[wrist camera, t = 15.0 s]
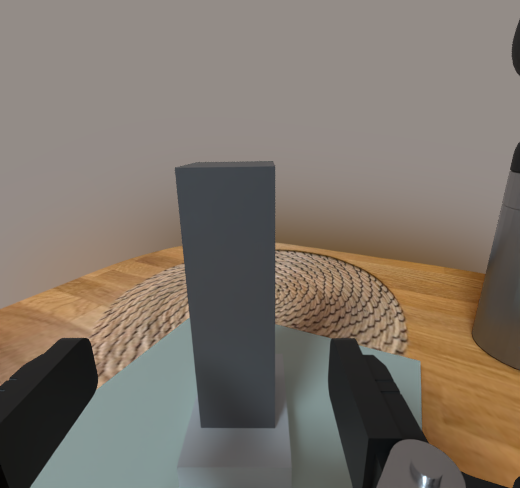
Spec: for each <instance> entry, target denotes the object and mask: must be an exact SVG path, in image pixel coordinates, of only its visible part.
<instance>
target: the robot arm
mask: <svg viewBox="0 0 520 488" xmlns="http://www.w3.org/2000/svg"><path fill="white" fill-rule="evenodd" d="M512 60H513V65H514V68H515V70H516V72H517V73H518V74H519V75H520V20H519V23H518V26H517V28H516V32H515V36H514V39H513V44H512ZM510 170H512V171H510V172H509V176H508V181H507V185H506V189H505V193H504V198H503V202H502V203H503V204H502V207H501V211H500V215H499V220H498V224H497V228H496V233H495V237H494V241H493V245H492V250H491V254H490V258H489V262H488V267H487V271H486V275H485V279H484V283H483V288H482V292H481V296H480V299H479V304H478V308H477V313H476V317H475V322H474V326H473V330H472V335H473V338H474V340H475V341H476V343H477V344H478V345H479V346H480V347H481V348H482V349H483V350H484V351H486V352H487V353H488V354H490V355H491V356H493V357H494V358H496V359H498V360H500V361H501V362H503V363H505V364H507V365H509V366H512V367H514V368H516V369H519V370H520V143H518V145H517V147H516V149H515V151H514V155H513V159H512V163H511V168H510ZM97 384H98V374H97V369H96V365H95V360H94V355H93V351H92V346H91V342H90V341H89V339H87V338H62V339H60V340H58V341H57V342H56V343H55V344H54V345H53V346H52V347H51V348H50V349H49V350H48V351H46V352H45V353H44V354H42V355H40V356H38V357H37V358H35V359H33V360H32V361H30V362H28V363H26V364H25V365H23V366H22V367H21V368H20V369H19V370H18V371H17V372H16V373H15V374H13V375H12V376H11V377H10V379H9V381H6V382H5V383H3V384H2V385H1V386H0V488H30V487H31V485H32V484H33V483H34V481H35V480H36V478H37V477H38V475H39V474H40V472H41V471H42V470H43V468H44V467H45V465H46V464H47V462H48V461H49V459H50V458H51V457H52V455H53V454H54V452H55V451H56V449H57V448H58V446H59V445H60V444H61V442H62V441H63V439H64V438H65V436H66V435H67V433H68V432H69V431H70V429H71V428H72V426H73V425H74V423H75V422H76V420H77V419H78V418H79V416H80V415H81V413H82V412H83V410H84V409H85V407H86V406H87V405H88V403H89V402H90V400H91V399H92V397H93V396H94V394H95V391H96V389H97ZM328 390H329V397H330V401H331V405H332V409H333V412H334V416H335V420H336V424H337V428H338V432H339V436H340V440H341V444H342V448H343V451H344V455H345V459H346V463H347V467H348V471H349V475H350V479H351V483H352V487H353V488H508V487H505V486H501V485H498V484H495V483H492V482H488V481H485V480H482V479H479V478H475V477H473V476H470V475H467V474H465V473H463V472H461V471H460V470H459V468H458V467H457V466H456V464H455V463H454V462H453V461H452V460H451V459H450V458H449V457H448V456H447V455H446V454H445V453H444V452H442V451H441V450H439V449H438V448H436V447H434V446H433V445H431V444H429V443H428V441H427V439H426V437H425V436H424V434H423V432H422V430H421V428H420V426H419V425H418V423H417V421H416V419H415V417H414V416H413V414H412V412H411V410H410V408H409V407H408V405H407V403H406V401H405V399H404V397H403V396H402V394H400V390H399V388H398V387H397V385H396V383H395V382H394V379H393V378H392V376H391V374H390V372H389V370H388V368H387V367H386V366H385V365H384V364H383V363H382V362H381V361H380V360H379V359H378V358H376V357H375V356H374V355H363V354H362V351H361V349H360V347H359V345H358V343H357V341H356V339H354V338H332V339H331V341H330V352H329V367H328ZM513 488H520V477H518V478H517V479H516V480H515V482H514V485H513Z"/></svg>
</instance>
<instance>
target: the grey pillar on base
mask: <svg viewBox="0 0 520 488" xmlns="http://www.w3.org/2000/svg"><path fill="white" fill-rule="evenodd" d="M175 174H176V184H177V194H178V204H179V214H180V224H181V234H182V244H183V254H184V264H185V274H186V284H187V294H188V304H189V314H190V324H191V334H192V344H193V354H194V364H195V374H196V384H197V395H196V399H195V403H194V406H193V410H192V413H191V417H190V421H189V424H188V428H187V431H186V435H185V439H184V442H183V446H182V449H181V453H180V457H179V460H178V464H177V473H178V481H179V487H205V488H291V485H292V463H291V450H290V438H289V426H288V413H287V401H286V389H285V376H284V364H283V354H275V165H274V163H273V161H259V162H258V161H257V162H198V163H192V164H188V165H184V166H180V167H176V168H175Z"/></svg>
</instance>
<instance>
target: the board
mask: <svg viewBox="0 0 520 488" xmlns="http://www.w3.org/2000/svg"><path fill="white" fill-rule="evenodd" d="M330 341H331V338H327V337H323V336H319V335H315V334H311V333H308V332H304V331H300V330H296V329H292V328H288V327H284V326H280V325H276V324H275V354H283V364H284V376H285V389H286V401H287V413H288V426H289V438H290V450H291V463H292V485H291V488H353V487H352V483H351V479H350V475H349V471H348V467H347V463H346V459H345V455H344V451H343V448H342V444H341V440H340V436H339V432H338V428H337V424H336V420H335V416H334V412H333V409H332V405H331V401H330V397H329V390H328V367H329V352H330ZM359 347H360V349H361V351H362V354H363V355H374V356H375V357H376V358H378V359H379V360H380V361H381V362H382V363H383V364H384V365H385V366H386V367H387V368H388V370H389V372H390V374H391V376H392V378H393V379H394V382H395V383H396V385H397V387H398V388H399V390H400V394H402V396H403V397H404V399H405V401H406V403H407V405H408V407H409V408H410V410H411V412H412V414H413V416H414V417H415V419H416V421H417V423H418V425H419V426H420V428H421V430H422V412H421V371H420V361H418V360H414V359H410V358H406V357H402V356H398V355H394V354H390V353H386V352H382V351H378V350H374V349H370V348H367V347H363V346H359ZM196 395H197V384H196V374H195V364H194V354H193V344H192V334H191V324H190V318H189V319H187V320H186V321H185V322H183V323H182V324H181V325H179V326H178V327H177V328H176V329H174V330H173V331H172V332H170V333H169V334H168V335H167V336H165V337H164V338H163V339H161V340H160V341H159V342H158V343H156V344H155V345H154V346H152V347H151V348H150V349H149V350H147V351H146V352H145V353H143V354H142V355H141V356H140V357H138V358H137V359H136V360H134V361H133V362H132V363H130V364H129V365H128V366H127V367H125V368H124V369H123V370H121V371H120V372H119V373H118V374H116V375H115V376H114V377H112V378H111V379H110V380H109V381H107V382H106V383H105V384H103V385H102V386H101V387H100V388H98V389H97V390H96V391H95V394H94V396H93V397H92V399H91V400H90V402H89V403H88V405H87V406H86V407H85V409H84V410H83V412H82V413H81V415H80V416H79V418H78V419H77V420H76V422H75V423H74V425H73V426H72V428H71V429H70V431H69V432H68V433H67V435H66V436H65V438H64V439H63V441H62V442H61V444H60V445H59V446H58V448H57V449H56V451H55V452H54V454H53V455H52V457H51V458H50V459H49V461H48V462H47V464H46V465H45V467H44V468H43V470H42V471H41V472H40V474H39V475H38V477H37V478H36V480H35V481H34V483H33V484H32V485H31V487H30V488H205V487H179V481H178V473H177V464H178V460H179V457H180V453H181V449H182V446H183V442H184V439H185V435H186V431H187V428H188V424H189V421H190V417H191V413H192V410H193V406H194V403H195V399H196Z"/></svg>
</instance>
